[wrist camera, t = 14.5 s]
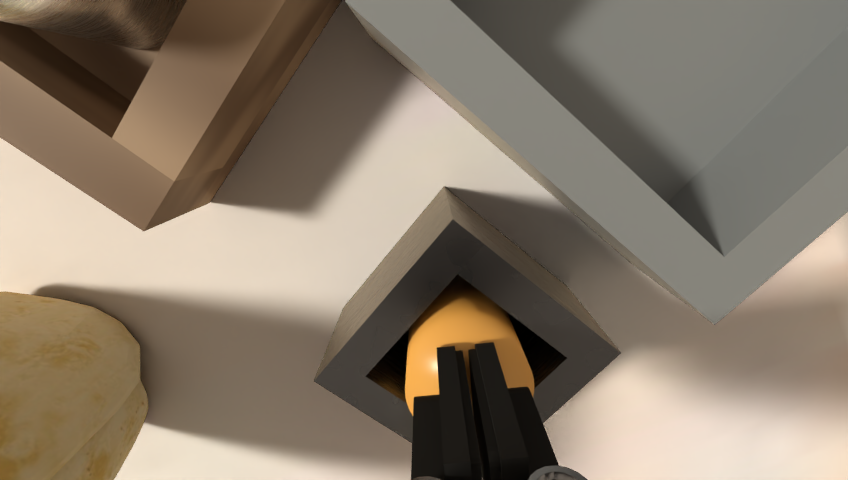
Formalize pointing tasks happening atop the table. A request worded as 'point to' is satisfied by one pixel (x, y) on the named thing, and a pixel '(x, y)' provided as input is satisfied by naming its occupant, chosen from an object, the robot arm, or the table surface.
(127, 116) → the brown compartment tray
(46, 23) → the cylinder
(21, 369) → the food model
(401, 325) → the button housing
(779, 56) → the tray
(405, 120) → the table surface
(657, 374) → the table surface
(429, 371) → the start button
